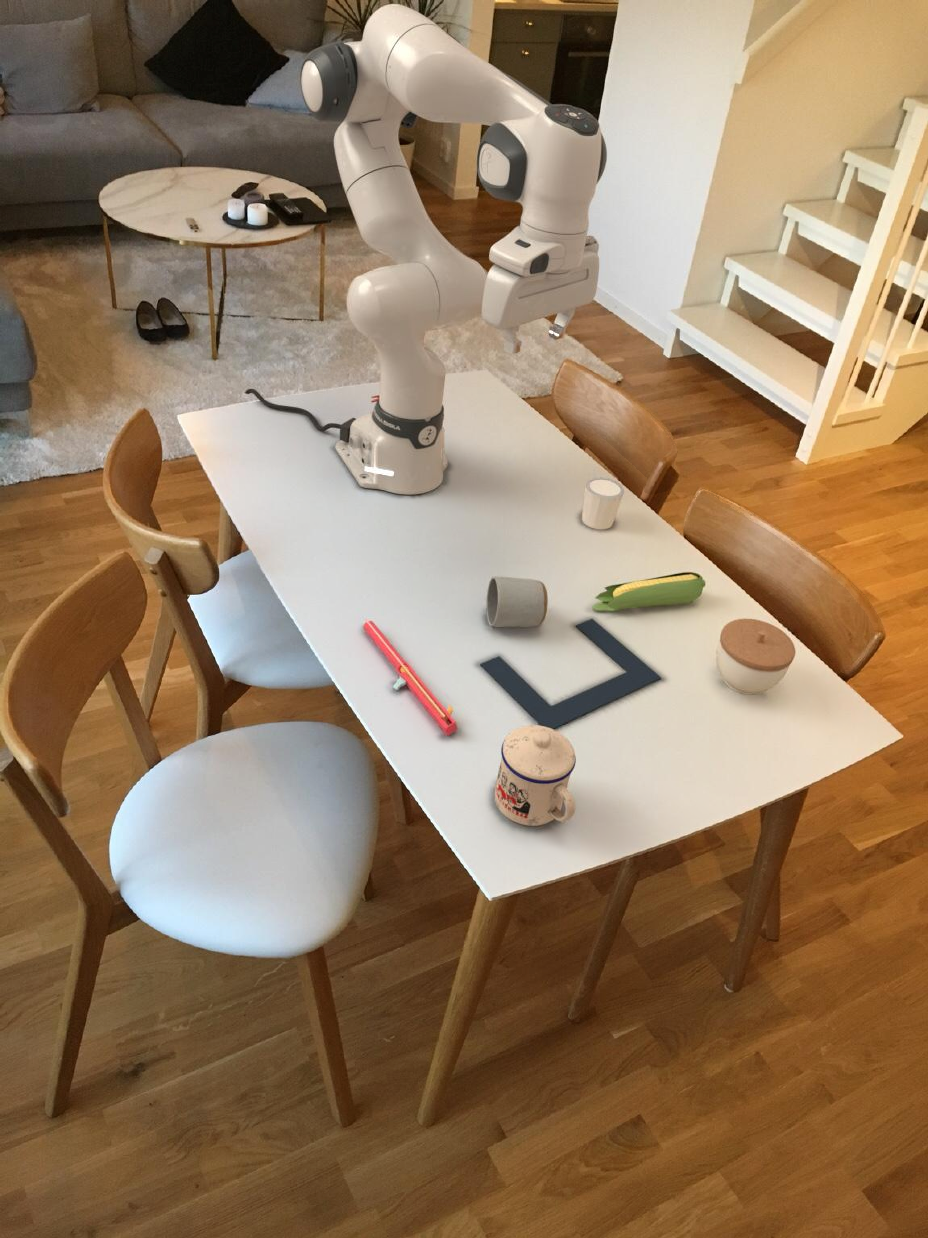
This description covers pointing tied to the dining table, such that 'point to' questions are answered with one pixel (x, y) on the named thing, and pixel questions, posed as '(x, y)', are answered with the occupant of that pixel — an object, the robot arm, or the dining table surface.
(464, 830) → the dining table surface
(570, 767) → the teacup with lid
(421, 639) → the dining table surface
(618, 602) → the edible corn
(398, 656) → the red striped bar
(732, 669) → the trinket box
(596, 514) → the white faceted cylinder
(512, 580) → the ceramic mug
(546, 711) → the dark grey flat piece
